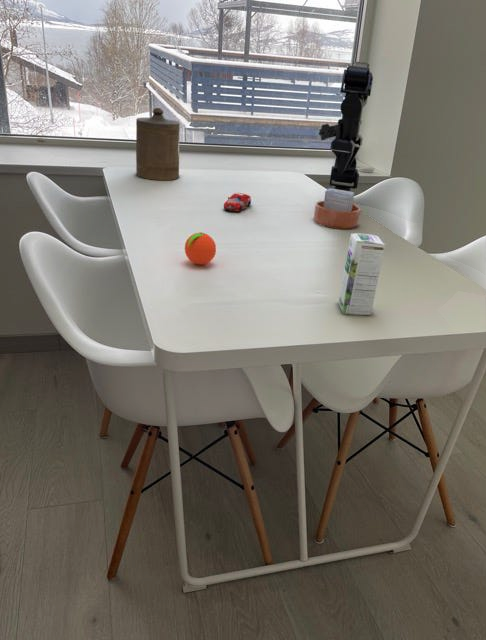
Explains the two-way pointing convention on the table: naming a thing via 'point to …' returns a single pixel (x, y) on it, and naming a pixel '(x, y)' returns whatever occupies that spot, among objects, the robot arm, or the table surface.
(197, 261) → the clementine
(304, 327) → the table surface
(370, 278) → the syrup box
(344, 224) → the bowl
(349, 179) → the robot arm
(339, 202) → the medicine box
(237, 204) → the race car
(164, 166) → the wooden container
